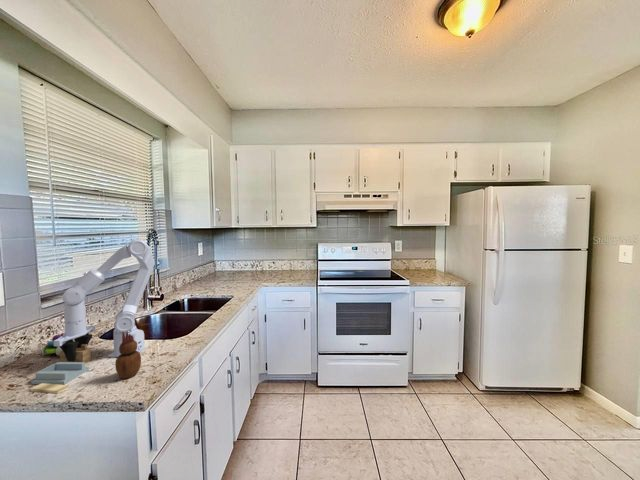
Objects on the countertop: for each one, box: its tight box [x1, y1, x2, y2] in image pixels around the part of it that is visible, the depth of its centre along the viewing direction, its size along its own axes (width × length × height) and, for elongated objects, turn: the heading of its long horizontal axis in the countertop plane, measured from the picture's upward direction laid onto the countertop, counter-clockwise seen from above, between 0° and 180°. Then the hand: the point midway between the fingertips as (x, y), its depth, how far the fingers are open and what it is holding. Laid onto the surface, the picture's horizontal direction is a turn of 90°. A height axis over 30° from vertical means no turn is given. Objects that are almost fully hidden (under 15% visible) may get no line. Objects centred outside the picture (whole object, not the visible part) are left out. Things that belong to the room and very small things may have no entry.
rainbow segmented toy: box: [41, 332, 75, 357], centre depth 108 cm, size 8×10×7 cm
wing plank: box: [30, 383, 69, 394], centre depth 83 cm, size 9×3×1 cm, turn 83°
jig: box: [31, 361, 90, 385], centre depth 90 cm, size 10×9×3 cm
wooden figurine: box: [114, 332, 142, 379], centre depth 91 cm, size 7×6×15 cm
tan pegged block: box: [59, 344, 92, 364], centre depth 100 cm, size 8×4×6 cm, turn 90°
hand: (76, 358), depth 100 cm, fingers closed on tan pegged block, 3 cm apart
